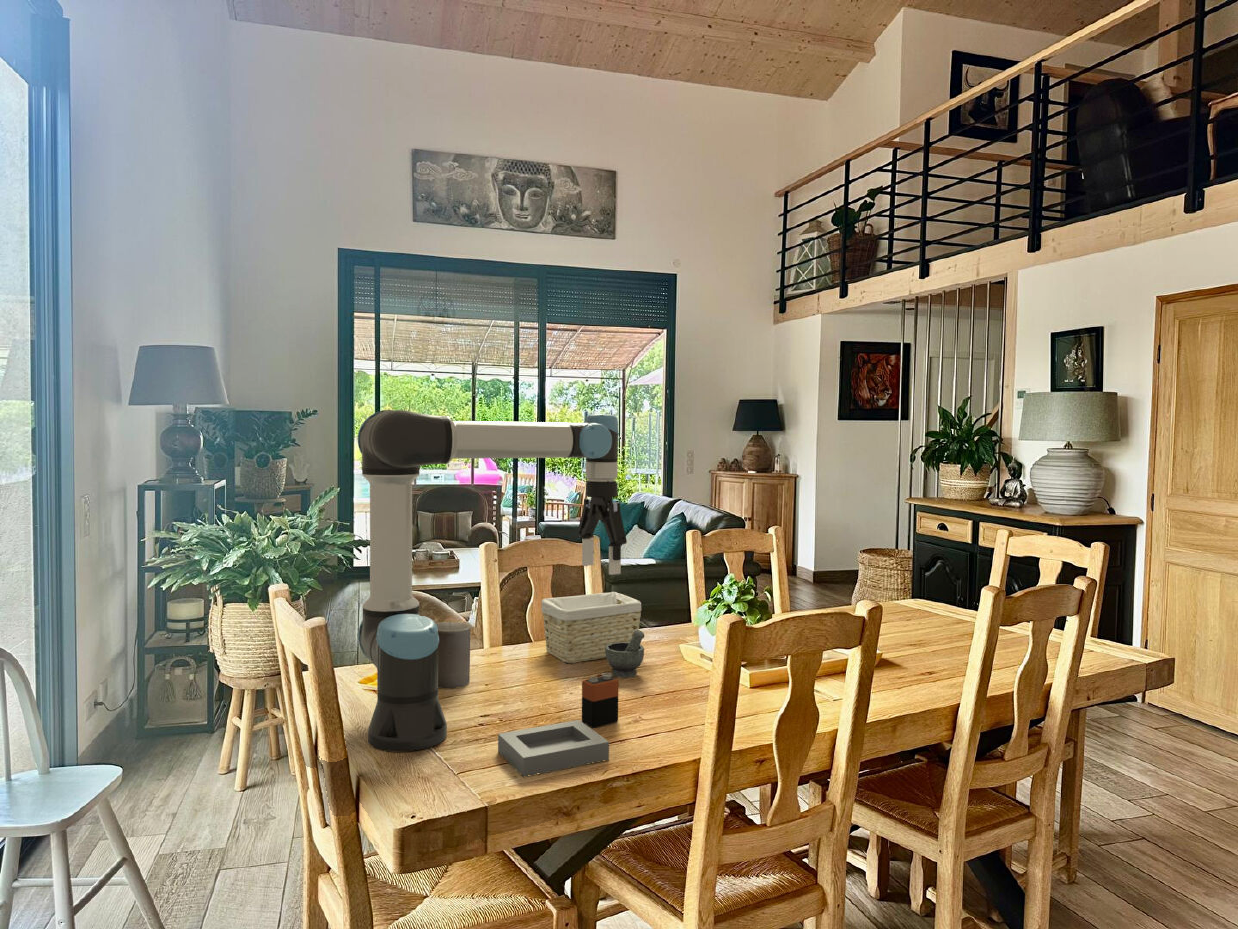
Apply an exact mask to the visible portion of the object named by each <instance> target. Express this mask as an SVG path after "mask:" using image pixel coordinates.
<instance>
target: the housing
mask: <svg viewBox="0 0 1238 929" xmlns="http://www.w3.org/2000/svg"><path fill="white" fill-rule="evenodd" d="M497 738H498V739H497V752H498V753H499V754H500V755H501V756H502V758H504V759H505V760H506V761H507V762H508V764H509V765H511V767H513V768H514V769H515V770H516V771H517V772H518V773H519V774H520V773H521V774H522V775H523V776H527V777H529V776H528V775H532V776H535V775H534V774H537V773H543V774H547V773H551V772H552V771H553V772H556V770H558V771H560V769H563V770H566V769H565V768H568V769H570V768H569V767H573V768H577V766H578V767H581V766H580V765H583V766H585V765H584V764H588V763H592V762H598V761H603V760H608V761H610V740H609V741H608V740H607V739H606V738H605V737H603V736H602V735H601V734H599V733H598V732H596V731H595V730H593V729H592V727H590V726H588V725H586V724H584V723H583V722H582V720H580V719H576V720H570V721H565V722H558V723H554V724H553V723H552V724H548V725H541V726H536V727H528V728H522V729H517V730H511V731H506V732H500V733H497ZM603 762H604V761H603ZM598 763H599V762H598ZM588 765H589V764H588ZM521 774H520V775H521ZM522 775H521V776H522ZM523 776H522V777H523Z"/></svg>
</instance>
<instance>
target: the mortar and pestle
mask: <svg viewBox="0 0 1238 929" xmlns="http://www.w3.org/2000/svg"><path fill="white" fill-rule="evenodd" d="M633 634H634V635H633V637H632V639H631V640H630V642H629V643H628V642H619V643H611V644H609V645H606V646H605V653H606V658H605V659H606V661H607V663H608V665H609V666H610V668H612V669H611V674H612V677H615V676H616V677H615V678H618V677H620V678H619V679H629V678H628V677H631V678H635V677H636V676H638V674H637V668H639V667H640V666H641V664H642V663H643V661H644V655H645V648H644V647H645V646H644V645H642V644H641V643H642V640H643V639H644V638H645V633H644V632H643V631H642V630H640V629H639V630H635V631H634V633H633ZM635 675H636V676H635Z"/></svg>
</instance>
